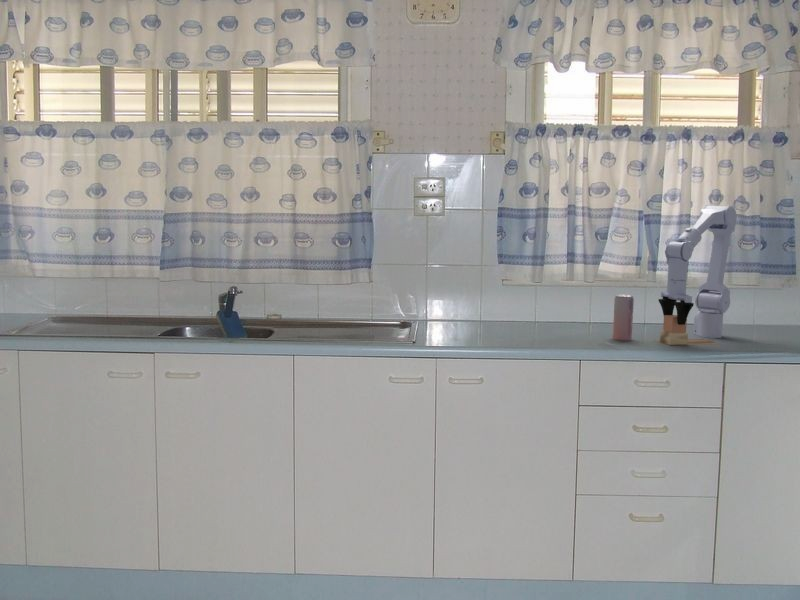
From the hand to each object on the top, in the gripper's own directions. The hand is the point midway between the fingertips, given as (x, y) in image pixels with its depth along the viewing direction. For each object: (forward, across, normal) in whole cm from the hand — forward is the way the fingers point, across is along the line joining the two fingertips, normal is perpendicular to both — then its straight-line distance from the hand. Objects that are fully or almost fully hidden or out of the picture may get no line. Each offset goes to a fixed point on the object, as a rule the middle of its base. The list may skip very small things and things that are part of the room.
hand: (674, 322), depth 262 cm
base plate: (+7, 0, +5) cm, 9 cm away
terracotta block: (+3, 0, 0) cm, 3 cm away
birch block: (+6, 0, 0) cm, 6 cm away
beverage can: (+7, -9, -13) cm, 17 cm away
